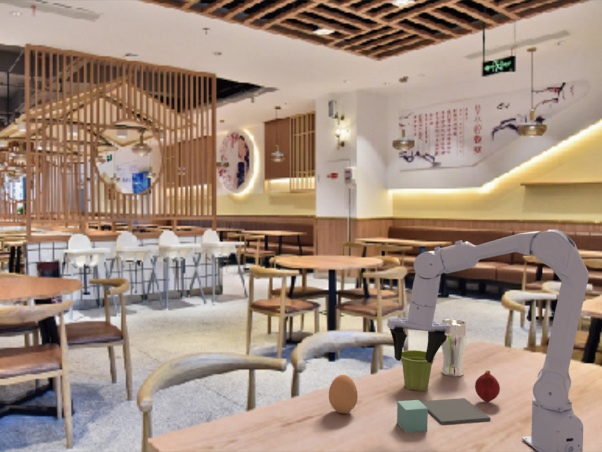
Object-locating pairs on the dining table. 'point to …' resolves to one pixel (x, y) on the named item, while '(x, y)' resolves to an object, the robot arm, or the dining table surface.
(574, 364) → the dining table surface
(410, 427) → the cube
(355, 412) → the dining table surface
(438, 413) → the mat
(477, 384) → the onion
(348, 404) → the egg
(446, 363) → the beer glass
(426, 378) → the plant pot
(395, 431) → the dining table surface
